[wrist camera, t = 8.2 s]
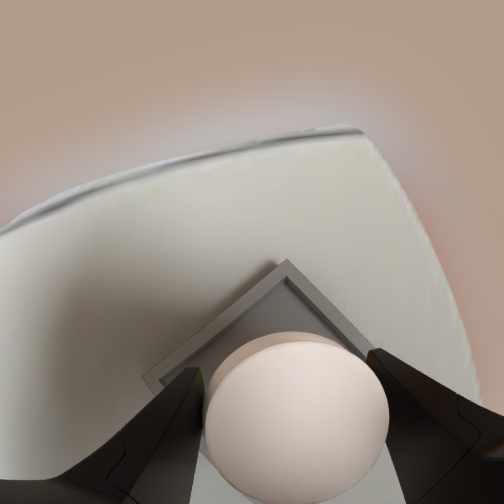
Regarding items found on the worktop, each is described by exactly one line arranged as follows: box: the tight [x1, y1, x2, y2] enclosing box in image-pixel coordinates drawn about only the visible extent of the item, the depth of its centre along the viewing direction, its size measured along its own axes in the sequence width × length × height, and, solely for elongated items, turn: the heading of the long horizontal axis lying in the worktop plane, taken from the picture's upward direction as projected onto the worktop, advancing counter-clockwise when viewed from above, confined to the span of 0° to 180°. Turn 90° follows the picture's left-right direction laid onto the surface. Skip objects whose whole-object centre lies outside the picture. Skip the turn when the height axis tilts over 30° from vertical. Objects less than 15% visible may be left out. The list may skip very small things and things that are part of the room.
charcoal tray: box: [142, 259, 376, 504], centre depth 15 cm, size 12×12×2 cm
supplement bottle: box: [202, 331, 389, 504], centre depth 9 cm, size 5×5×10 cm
